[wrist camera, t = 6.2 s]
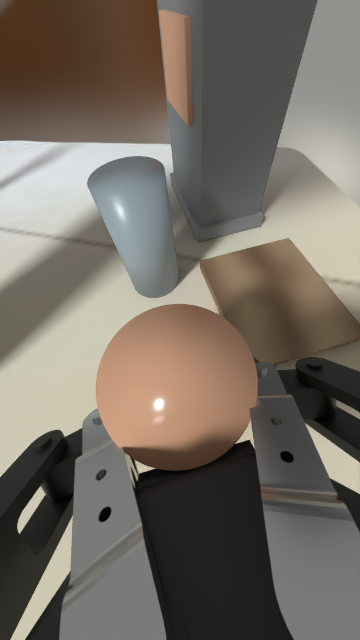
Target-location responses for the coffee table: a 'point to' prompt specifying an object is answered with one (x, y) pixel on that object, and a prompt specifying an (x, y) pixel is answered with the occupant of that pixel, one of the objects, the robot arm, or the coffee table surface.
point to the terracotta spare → (176, 387)
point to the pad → (278, 302)
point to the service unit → (228, 102)
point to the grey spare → (138, 221)
